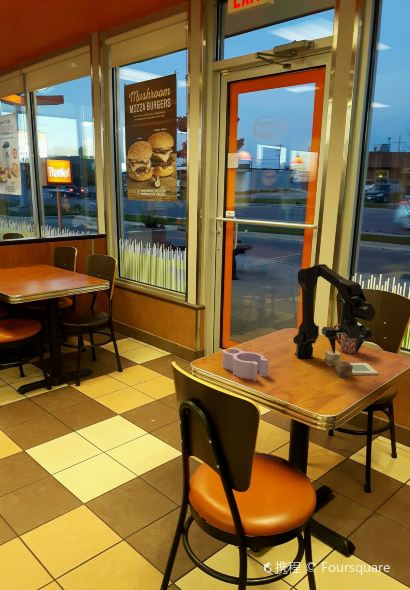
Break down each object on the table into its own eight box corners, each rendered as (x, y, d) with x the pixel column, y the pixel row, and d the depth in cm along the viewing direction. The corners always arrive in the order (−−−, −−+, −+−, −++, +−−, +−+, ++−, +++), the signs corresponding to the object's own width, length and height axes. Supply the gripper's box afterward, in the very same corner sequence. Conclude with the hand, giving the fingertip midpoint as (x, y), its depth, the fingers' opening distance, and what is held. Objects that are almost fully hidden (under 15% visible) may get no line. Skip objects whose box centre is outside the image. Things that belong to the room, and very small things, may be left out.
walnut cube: (339, 378, 178) (340, 366, 177) (334, 373, 183) (335, 361, 182) (351, 377, 178) (352, 366, 177) (346, 373, 183) (348, 361, 182)
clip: (215, 368, 186) (215, 352, 184) (236, 361, 194) (236, 346, 192) (251, 383, 171) (252, 365, 170) (272, 375, 179) (273, 358, 178)
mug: (362, 351, 210) (364, 323, 207) (353, 356, 203) (356, 327, 200) (336, 345, 218) (339, 318, 215) (327, 349, 211) (330, 321, 209)
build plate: (351, 374, 181) (351, 372, 181) (341, 364, 192) (341, 362, 192) (377, 374, 182) (377, 372, 182) (366, 364, 193) (366, 362, 192)
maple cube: (328, 366, 190) (329, 354, 189) (324, 361, 195) (325, 350, 194) (339, 365, 191) (340, 354, 190) (335, 361, 196) (336, 350, 195)
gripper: (332, 320, 167) (328, 360, 170) (381, 320, 168) (376, 360, 171) (322, 312, 178) (319, 350, 181) (368, 313, 179) (364, 350, 182)
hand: (345, 352), depth 179 cm, fingers open, 9 cm apart
